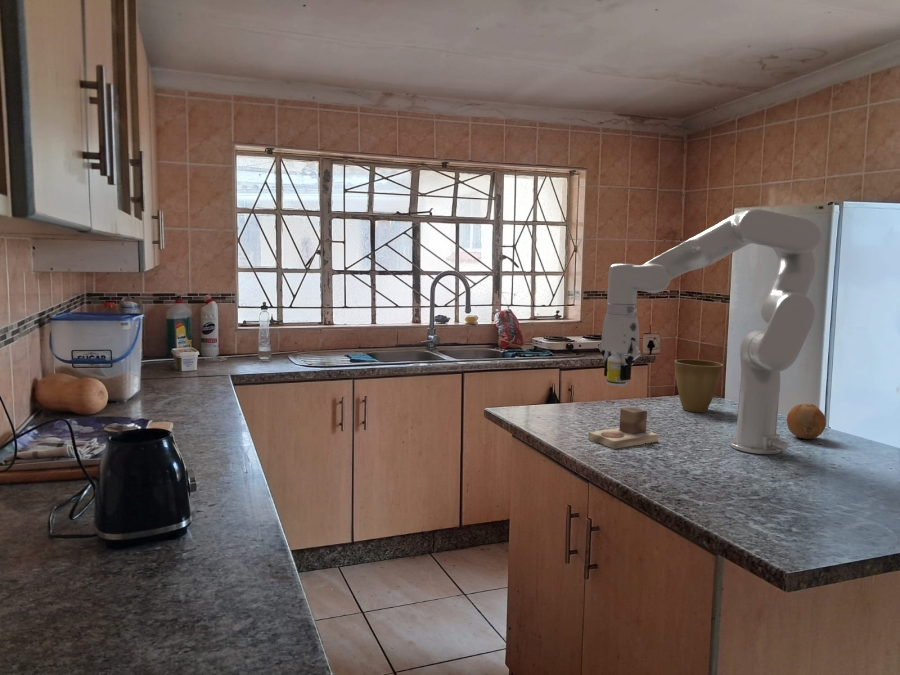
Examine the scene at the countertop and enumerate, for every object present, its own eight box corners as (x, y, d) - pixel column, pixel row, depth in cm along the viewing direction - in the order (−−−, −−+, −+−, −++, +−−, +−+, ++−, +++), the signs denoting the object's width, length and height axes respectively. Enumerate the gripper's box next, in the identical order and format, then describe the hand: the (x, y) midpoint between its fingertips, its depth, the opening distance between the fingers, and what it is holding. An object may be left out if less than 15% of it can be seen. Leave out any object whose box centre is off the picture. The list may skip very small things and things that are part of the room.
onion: (814, 434, 193) (817, 400, 192) (830, 444, 183) (834, 408, 182) (779, 433, 194) (782, 399, 192) (793, 442, 184) (797, 407, 183)
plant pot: (711, 417, 211) (715, 367, 209) (665, 410, 220) (668, 362, 218) (724, 409, 222) (728, 362, 220) (680, 402, 231) (683, 357, 229)
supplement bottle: (612, 381, 183) (614, 346, 182) (630, 384, 179) (632, 348, 178) (602, 384, 179) (604, 348, 178) (621, 387, 175) (623, 350, 174)
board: (657, 441, 182) (658, 433, 181) (614, 448, 174) (614, 440, 174) (631, 432, 190) (631, 425, 190) (588, 439, 182) (588, 431, 182)
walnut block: (632, 434, 180) (633, 412, 179) (619, 429, 185) (620, 408, 184) (645, 432, 183) (647, 410, 182) (632, 427, 187) (633, 407, 186)
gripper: (655, 313, 171) (651, 382, 173) (609, 307, 186) (605, 371, 188) (633, 313, 167) (629, 384, 170) (588, 307, 182) (585, 373, 184)
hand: (617, 377), depth 179 cm, fingers closed on supplement bottle, 5 cm apart
